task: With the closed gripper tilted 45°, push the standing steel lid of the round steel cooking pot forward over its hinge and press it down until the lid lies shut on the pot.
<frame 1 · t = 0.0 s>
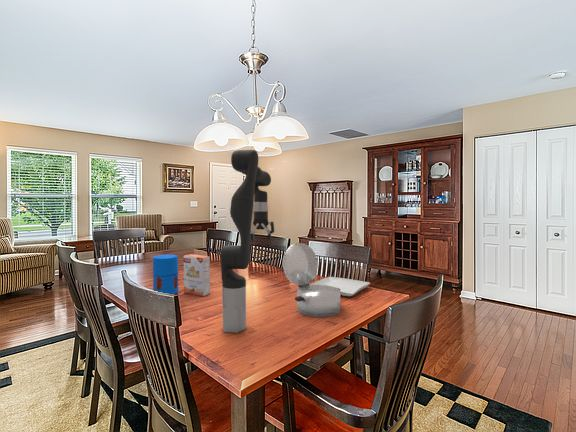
hand: (260, 240, 169), 29 cm above the table, tool pointing down, fingers open, 8 cm apart
cracker box: (197, 294, 172), on the table
pot: (318, 309, 148), on the table
thermos: (166, 310, 147), on the table
square plate: (339, 290, 181), on the table
lid: (300, 264, 158), point 19 cm above the table, hinge at 104.0°
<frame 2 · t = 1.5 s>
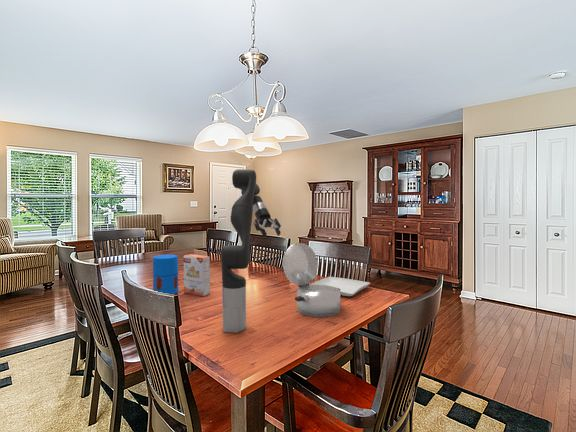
hand: (272, 235, 164), 33 cm above the table, tool tilted 45°, fingers open, 8 cm apart
nothing on the table moved.
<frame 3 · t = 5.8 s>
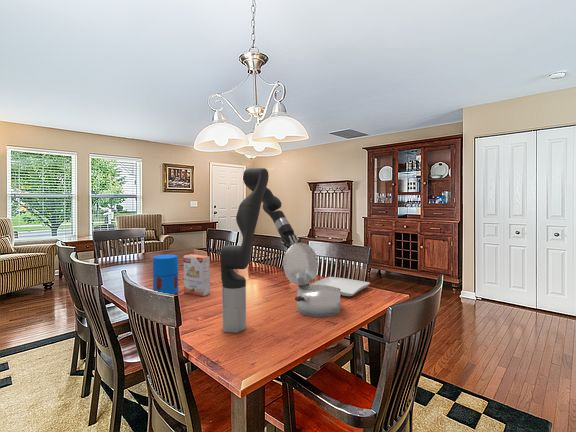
hand: (298, 254, 159), 24 cm above the table, tool tilted 45°, fingers closed
lid: (300, 264, 158), point 19 cm above the table, hinge at 101.9°, touching gripper
everything else where it was.
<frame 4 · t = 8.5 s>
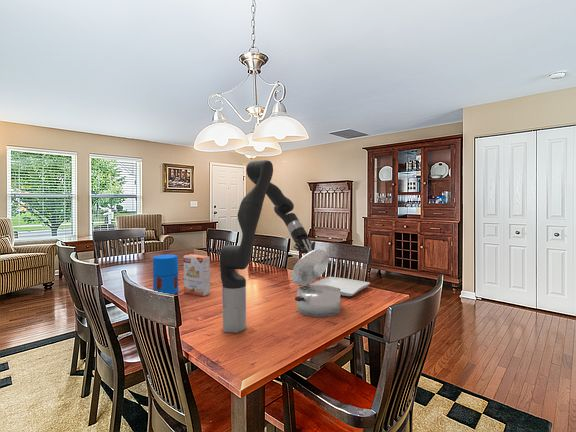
hand: (312, 259, 150), 23 cm above the table, tool tilted 45°, fingers closed
lid: (309, 267, 152), point 19 cm above the table, hinge at 60.8°, touching gripper
everything else where it was.
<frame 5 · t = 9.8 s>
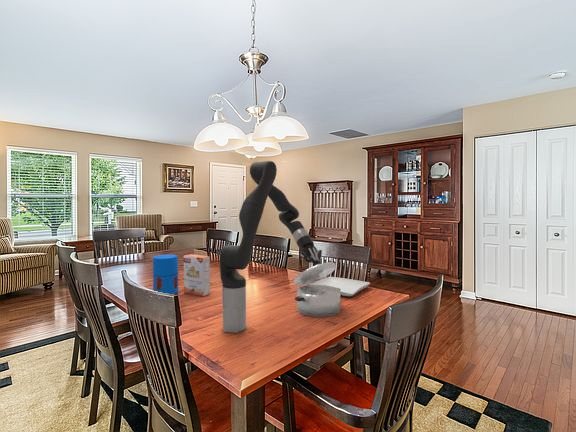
hand: (319, 268, 147), 20 cm above the table, tool tilted 45°, fingers closed
lid: (314, 273, 150), point 16 cm above the table, hinge at 38.2°, touching gripper
everything else where it was.
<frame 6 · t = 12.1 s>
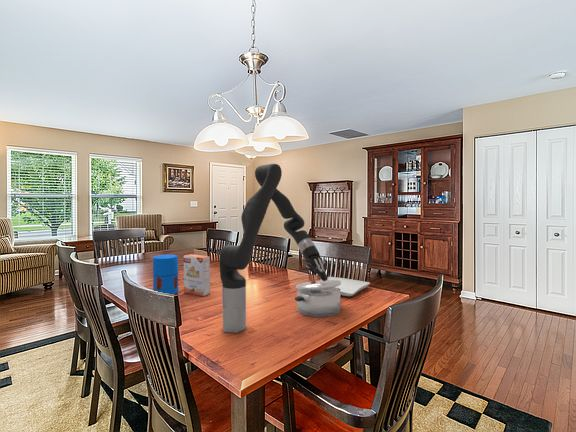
hand: (325, 280, 144), 15 cm above the table, tool tilted 45°, fingers closed
lid: (317, 283, 148), point 12 cm above the table, hinge at 10.4°
everything else where it was.
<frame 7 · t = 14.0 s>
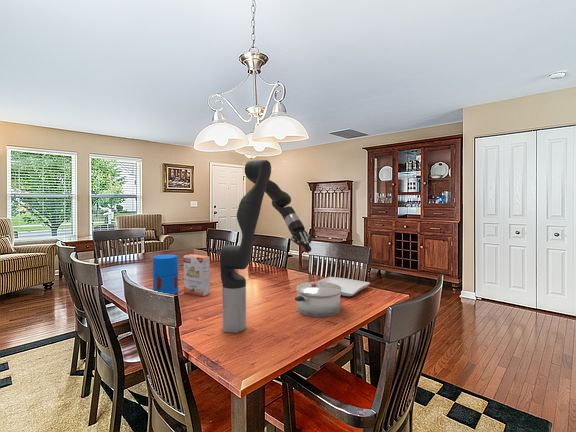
hand: (309, 251, 152), 27 cm above the table, tool tilted 45°, fingers closed
lid: (318, 287, 148), point 10 cm above the table, hinge at -0.1°
everything else where it was.
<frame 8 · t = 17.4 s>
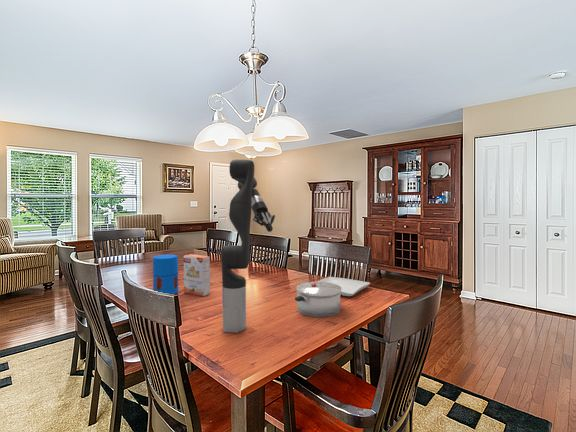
hand: (270, 230, 157), 36 cm above the table, tool tilted 45°, fingers closed
nothing on the table moved.
at the end: lid at +0° (first picture: +104°) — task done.
